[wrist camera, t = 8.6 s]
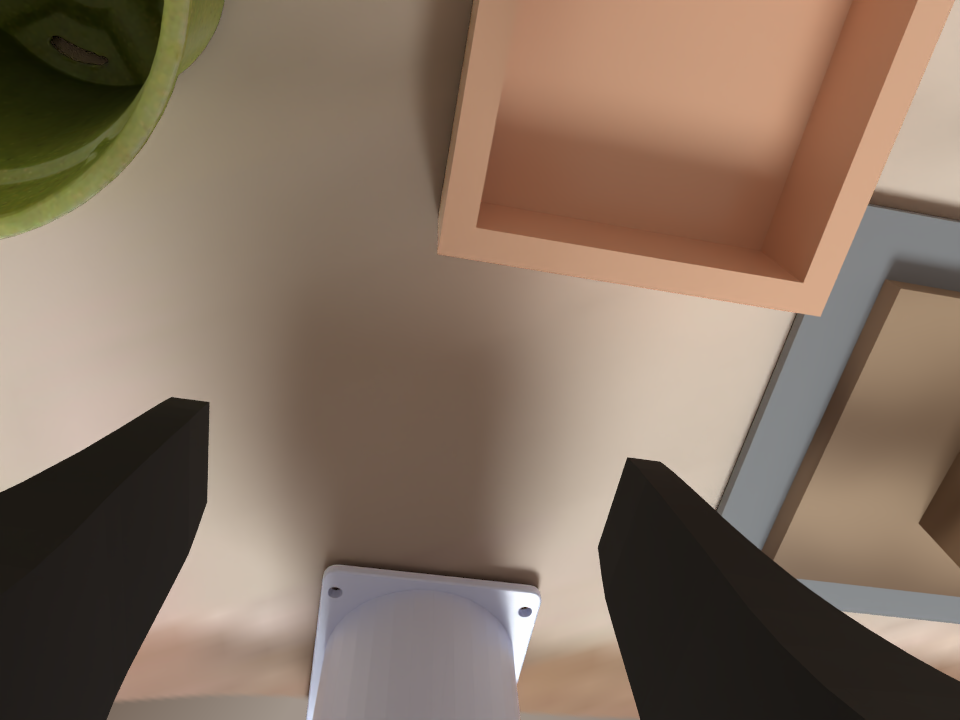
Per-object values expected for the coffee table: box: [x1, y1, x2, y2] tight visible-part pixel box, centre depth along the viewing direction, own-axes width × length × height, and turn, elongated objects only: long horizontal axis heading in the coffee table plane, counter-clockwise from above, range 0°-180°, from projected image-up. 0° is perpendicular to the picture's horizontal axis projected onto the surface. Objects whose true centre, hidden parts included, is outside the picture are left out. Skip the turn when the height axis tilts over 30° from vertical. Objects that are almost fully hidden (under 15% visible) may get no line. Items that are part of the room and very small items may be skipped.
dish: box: [437, 0, 955, 317], centre depth 17 cm, size 10×10×4 cm
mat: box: [717, 204, 960, 624], centre depth 25 cm, size 15×15×1 cm
